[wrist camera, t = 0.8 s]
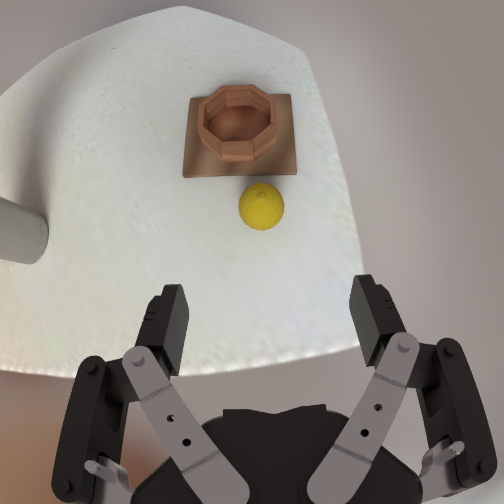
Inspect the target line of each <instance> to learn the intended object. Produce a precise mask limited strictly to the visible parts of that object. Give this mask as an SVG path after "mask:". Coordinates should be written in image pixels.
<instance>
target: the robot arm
mask: <svg viewBox="0 0 504 504" xmlns="http://www.w3.org/2000/svg"><path fill="white" fill-rule="evenodd" d="M47 239H48V226H47V223H46V220H45V218H44V217H43V216H42V215H41V214H39V213H37V212H34V211H32V210H30V209H27V208H25V207H23V206H21V205H18V204H16V203H14V202H11V201H9V200H7V199H4V198H2V197H0V259H3V260H8V261H13V262H18V263H23V264H33V263H35V262H36V261H37V260H38V259H39V258H40V257H41V256H42V254H43V252H44V250H45V247H46V244H47ZM349 307H350V312H351V316H352V319H353V322H354V325H355V329H356V332H357V335H358V339H359V342H360V346H361V349H362V353H363V356H364V360H365V364H366V367H369V366H374V367H375V373H374V375H373V377H372V379H371V381H370V383H369V385H368V386H367V388H366V390H365V392H364V394H363V396H362V398H361V399H360V401H359V403H358V405H357V407H356V408H355V410H354V412H353V414H352V415H351V417H350V418H348V417H347V416H345V415H343V414H340V413H338V412H334V411H329V410H326V405H325V404H320V405H311V406H301V407H298V408H294V409H291V410H288V411H285V412H281V413H278V414H270V413H265V412H259V411H254V410H250V409H223V416H219V417H216V418H213V419H211V420H209V421H207V422H205V423H204V424H202V425H201V426H200V424H199V423H198V422H197V420H196V419H195V418H194V416H193V415H192V413H191V412H190V411H189V409H188V408H187V406H186V405H185V403H184V402H183V400H182V399H181V397H180V396H179V395H178V393H177V391H176V390H175V388H174V387H173V385H172V384H171V383H170V377H171V376H178V374H179V369H180V363H181V358H182V352H183V347H184V341H185V336H186V331H187V326H188V321H189V308H188V305H187V301H186V298H185V294H184V291H183V288H182V285H181V284H169V285H165V286H164V288H163V291H162V294H161V296H155V297H154V298H153V299H152V300H151V301H150V302H149V304H148V307H147V310H146V314H145V316H144V321H143V322H142V325H141V328H140V331H139V334H138V337H137V340H136V344H135V346H134V347H133V348H131V349H129V350H128V351H127V352H126V353H125V354H124V356H123V358H120V359H116V360H112V361H107V362H105V361H104V360H103V359H102V358H101V357H99V356H90V357H87V358H86V359H84V360H83V361H82V363H81V364H80V366H79V369H78V372H77V375H76V378H75V382H74V385H73V388H72V392H71V396H70V399H69V402H68V406H67V410H66V414H65V418H64V422H63V426H62V430H61V435H60V439H59V443H58V448H57V453H56V458H55V464H54V469H53V475H52V482H51V486H52V490H53V492H54V494H55V496H56V497H57V498H58V499H59V500H61V501H63V502H65V503H68V504H421V503H423V502H426V501H429V500H432V499H435V498H438V497H449V496H452V495H455V494H458V493H460V492H463V491H465V490H468V489H470V488H473V487H475V486H477V485H480V484H482V483H484V482H486V481H488V480H489V479H490V478H491V477H492V476H493V475H494V474H495V471H496V469H497V457H496V452H495V448H494V444H493V440H492V436H491V432H490V428H489V425H488V421H487V418H486V414H485V411H484V407H483V404H482V401H481V398H480V395H479V392H478V389H477V386H476V383H475V381H474V378H473V375H472V372H471V370H470V367H469V365H468V362H467V360H466V357H465V355H464V352H463V350H462V348H461V346H460V344H459V343H458V342H457V341H455V340H454V339H451V338H443V339H441V340H440V341H439V342H438V343H437V345H431V344H423V343H419V342H418V341H417V339H416V338H415V337H414V336H413V335H411V334H409V333H407V332H406V329H405V327H404V325H403V322H402V320H401V318H400V315H399V313H398V311H397V309H396V308H395V304H394V302H393V301H392V298H391V296H390V293H389V291H388V290H387V289H386V288H385V287H383V286H382V285H381V284H379V285H376V284H375V282H374V280H373V278H372V276H371V275H370V274H367V275H355V276H354V280H353V285H352V290H351V294H350V300H349ZM407 387H409V388H416V392H417V396H418V400H419V404H420V408H421V412H422V416H423V421H424V426H425V430H426V435H427V441H428V446H429V450H428V451H427V452H426V453H425V455H424V456H423V459H422V469H421V472H420V474H419V476H418V475H417V474H416V473H415V472H414V471H413V470H411V469H410V468H408V467H407V466H406V465H405V464H404V463H402V462H401V461H400V460H399V459H398V458H396V457H395V456H394V455H392V454H391V453H390V452H389V451H388V450H387V449H385V448H384V447H383V446H382V442H383V441H384V439H385V437H386V435H387V433H388V430H389V429H390V426H391V424H392V422H393V420H394V418H395V416H396V413H397V411H398V409H399V407H400V405H401V402H402V400H403V398H404V395H405V393H406V390H407ZM134 401H139V402H140V404H141V406H142V409H143V410H144V412H145V414H146V416H147V417H148V419H149V421H150V423H151V425H152V426H153V428H154V430H155V431H156V433H157V435H158V437H159V438H160V440H161V441H162V443H163V445H164V446H165V448H166V449H167V451H168V452H169V454H170V456H169V457H168V458H167V460H166V461H164V462H163V463H162V464H161V465H160V466H159V467H158V468H157V469H156V470H155V471H154V472H153V473H152V474H151V475H149V476H148V477H147V478H146V479H145V480H144V481H143V482H142V483H141V484H140V485H139V486H138V487H137V488H136V489H135V490H134V491H133V490H132V489H131V487H130V484H129V476H128V473H127V471H126V470H125V469H124V468H123V467H122V466H120V458H121V451H122V444H123V437H124V429H125V423H126V417H127V411H128V405H129V403H130V402H134Z"/></svg>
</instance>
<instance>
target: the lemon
mask: <svg viewBox="0 0 504 504" xmlns="http://www.w3.org/2000/svg"><path fill="white" fill-rule="evenodd" d="M283 212H284V202H283V198H282V196H281V194H280V192H279V191H278V190H277V189H276V188H275V187H273V186H272V185H269V184H266V183H256V184H254V185H251V186H250V187H248V188H247V189H246V190H245V191H244V192H243V194H242V196H241V197H240V201H239V213H240V216H241V218H242V220H243V221H244V222H245V223H246V224H247V225H248V226H249V227H251V228H253V229H256V230H267V229H270V228H272V227H274V226H275V225H276V224H277V223H278V222H279V221H280V219H281V218H282V215H283Z"/></svg>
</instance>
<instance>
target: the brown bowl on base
mask: <svg viewBox="0 0 504 504" xmlns="http://www.w3.org/2000/svg"><path fill="white" fill-rule="evenodd" d="M296 173H297V166H296V152H295V139H294V127H293V116H292V105H291V95H290V94H266V93H265V92H263V91H262V90H260V89H259V88H257V87H256V86H254V85H253V86H252V85H230V86H223V87H220V88H219V89H217V90H216V91H215V92H214V93H212V94H211V95H210V96H208V97H200V98H190V104H189V113H188V121H187V131H186V140H185V151H184V162H183V177H184V178H192V177H210V176H236V175H296Z"/></svg>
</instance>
